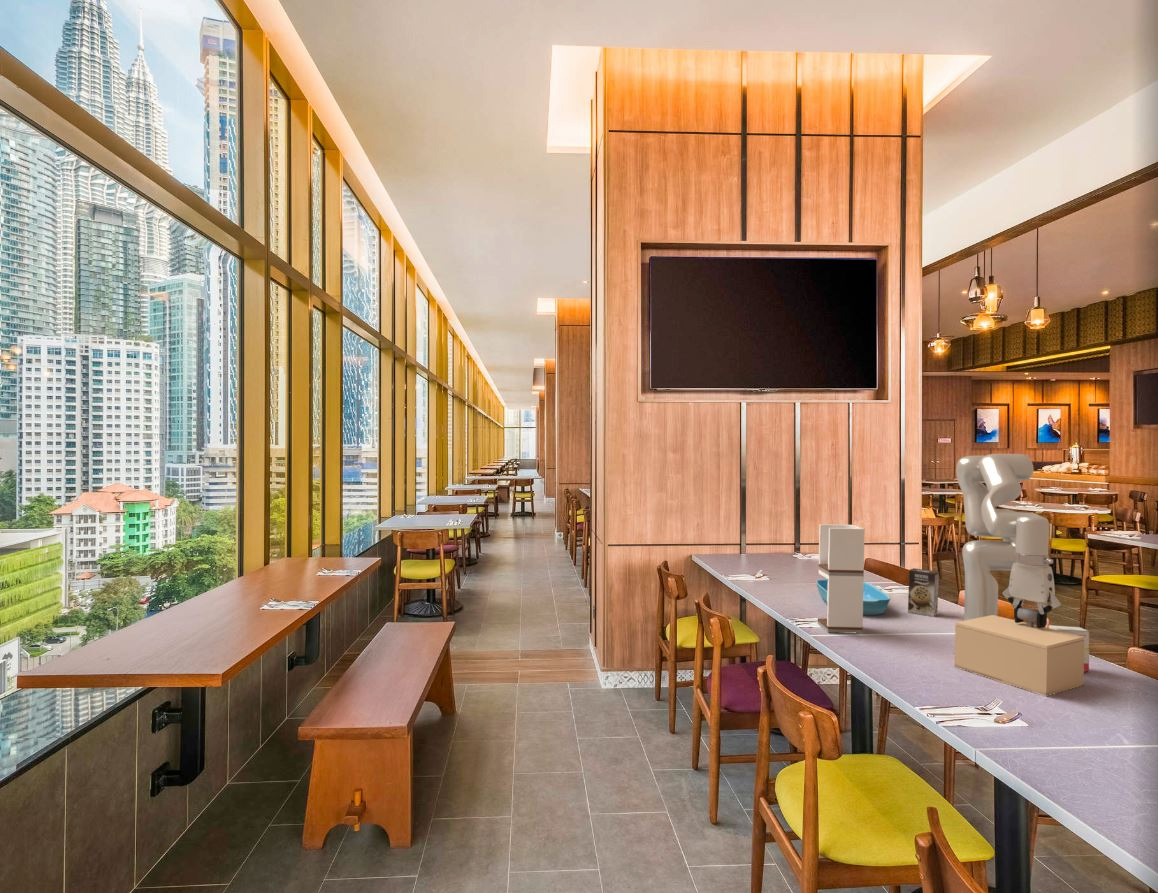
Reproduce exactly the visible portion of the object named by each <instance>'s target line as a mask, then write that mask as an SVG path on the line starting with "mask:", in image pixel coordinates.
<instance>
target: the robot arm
mask: <svg viewBox="0 0 1158 893" xmlns="http://www.w3.org/2000/svg"><path fill="white" fill-rule="evenodd" d="M955 467H956V469H955V470H956V471H955V474H956V479H957V482H958V485H959V487H960V491H961V494H962V497H963V507H964V508H963V510H964V521H965V529H966V531H967V533H968V534H969V535H971V536H975V537H981V538H982V537H983V538H1001V539H1002V541H997V540H996V541H995V540H982V539H981V540H978V539H977V540H971V541H968V542H966V543H965V544H964V545H963V546H962V550H961V551H962V560H963V567H964V609H963V610H964V614H963V621H965V620H970V619H975V618H980V617H985V616H990V615H995V616H999V615H998V612H999V611H998V610H999V609H998V607H999V606H998V604H999V603H998V602H999V584H998V580H997V579H996V578H995V577H994V576H993V575H992V573H991V572H990V571H1004V572H1006V571H1008V572H1010V574H1009V584H1008V587H1007V588H1005V590H1003V591H1002V595H1003V596H1004V597H1005V598H1006V599H1007V601H1008V602H1009V603H1010V604H1011V607H1012V609H1013V618H1014V619H1013V620H1015V623H1020V622H1025V620H1020V619H1019V618H1018V616H1017V611H1018V609H1019V608H1020V607H1023V604H1024V603H1025V601H1028V602H1032V603H1036V606H1037V610H1039V613H1038V614H1037V623H1036V625H1037V628H1044V627H1046V626H1047V624H1048V614H1049V613H1050V612H1051V611H1053V610H1054V609H1056V608H1058V607H1061V605H1062V603H1061V602H1060V601H1059V599H1058V598H1057V596H1056V593H1055V592H1056V589H1055V587H1056V586H1055V579H1054V573H1053V569H1052V566H1049V565H1052V564H1054V559H1052V558H1050V556H1049V539H1050V538H1049V537H1050V536H1049V534H1050V523H1049V519H1047V518H1046V517H1045V516H1041V515H1039V514H1038V513H1034V512H1026V511H1023V512H1019V511H1014V510H1011V509H1007V508H1006V509H1005V508H997V507H999V506H1003V505H1005V504H1007V503H1011V502H1013V501H1015V500H1016V499H1017V498H1018V497H1020V496H1021V493H1022V491H1023V490H1022V486H1021V484H1020V482H1025V481H1028V480H1030V479H1031V478H1032V476H1033V475H1034V464H1033V462H1032V460H1031V458H1030V457H1028V456H1027V455H1026V454H1023V453H990V454H986V455H967V456H963V457H961V458H959V460H958V461H957V463H956V466H955ZM981 481H983V482H984V483H982V482H981ZM1048 603H1051V604H1048Z"/></svg>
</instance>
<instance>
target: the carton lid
mask: <svg viewBox="0 0 1158 893" xmlns="http://www.w3.org/2000/svg"><path fill="white" fill-rule="evenodd" d="M1038 613H1039V610H1038V609H1035V608H1030V607H1025V606H1022V607H1020V608H1019V609H1018V611H1017V616H1018V618H1019V619H1020V620H1024V621H1023V622H1020V623H1015V619H1011V618H1007V617H1003V616H999V615H998V616H995V615H990V616H985V617H980V618H975V619H970V620H965V621H964V620H960V621H956V622H955V626H956V625H957V626H960V627H964V628H968V629H972V630H976V631H980V632H983V633H987V634H991V635H995V636H999V637H1002V638H1006V639H1010V640H1014V641H1018V642H1022V643H1025V644H1029V645H1033V646H1037V647H1041V648H1044V649H1050V648H1054V647H1058V646H1062V645H1065V644H1069V643H1073V642H1077V641H1081V640H1084V638H1085V637H1084V636H1080V635H1075V634H1071V633H1067V632H1063V631H1058V630H1054V629H1050V628H1049V627H1046V626H1045V627H1044V628H1037V614H1038Z"/></svg>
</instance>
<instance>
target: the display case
mask: <svg viewBox="0 0 1158 893" xmlns="http://www.w3.org/2000/svg"><path fill="white" fill-rule="evenodd" d="M818 527H819V536H818V538H819V540H818V574H819V575H820V576H822V577H824V579H828V592H827V602H826V603H827V614H826V615H827V616H826V617H825V618H824V617H823V618H822V617H817V625H818V624H819V625H820V626H819V625H818V626H819V627H821V628H822V629H823V628H824V629H823V630H824V631H825V630H826V631H827V632H826V631H825V632H826V633H828V632H856V633H855V634H857V633H862V634H863V629H864V628H863V621H864V614H863V582H865V576H864V575H865V574H864V572H865V570H864V569H865V567H864V566H865V534H866V533H865V530H866V529H865V528H863V527H859V526H857V525H854V524H832V523H831V524H827V523H826V524H823V523H822V524H821V523H820V524H819V526H818Z"/></svg>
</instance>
